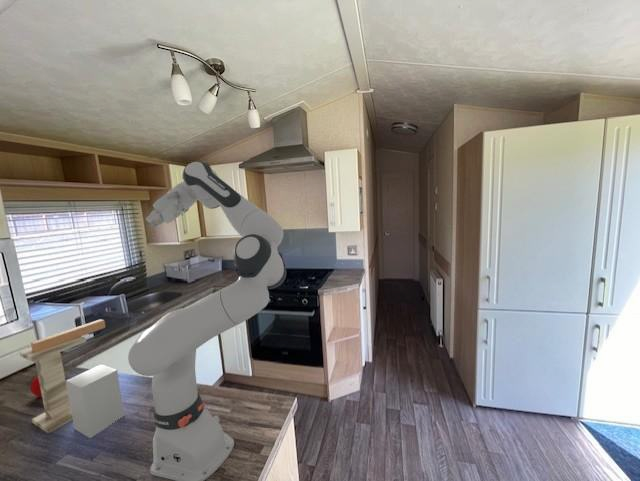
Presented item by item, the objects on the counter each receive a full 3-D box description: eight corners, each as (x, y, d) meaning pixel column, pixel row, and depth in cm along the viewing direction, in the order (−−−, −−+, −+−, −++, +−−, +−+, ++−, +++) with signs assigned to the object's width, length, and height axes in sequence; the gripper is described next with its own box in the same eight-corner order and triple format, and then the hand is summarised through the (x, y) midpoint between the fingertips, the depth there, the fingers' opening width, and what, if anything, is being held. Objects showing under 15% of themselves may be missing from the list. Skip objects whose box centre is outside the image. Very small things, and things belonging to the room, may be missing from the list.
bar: (105, 327, 107) (104, 320, 107) (36, 352, 90) (34, 343, 89) (101, 326, 109) (100, 319, 108) (32, 350, 91) (30, 342, 91)
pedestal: (124, 416, 95) (117, 369, 93) (90, 438, 86) (81, 387, 84) (108, 408, 99) (101, 364, 97) (74, 428, 90) (65, 380, 88)
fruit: (56, 396, 108) (51, 373, 107) (26, 403, 105) (21, 379, 104) (68, 383, 116) (64, 361, 115) (41, 389, 113) (37, 366, 112)
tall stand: (98, 405, 101) (86, 338, 98) (48, 433, 89) (33, 358, 86) (81, 397, 107) (70, 333, 104) (32, 422, 94) (18, 351, 91)
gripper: (185, 196, 94) (152, 224, 89) (188, 211, 113) (160, 235, 107) (170, 183, 93) (136, 210, 88) (176, 200, 111) (147, 223, 106)
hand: (149, 224), depth 98 cm, fingers open, 8 cm apart
